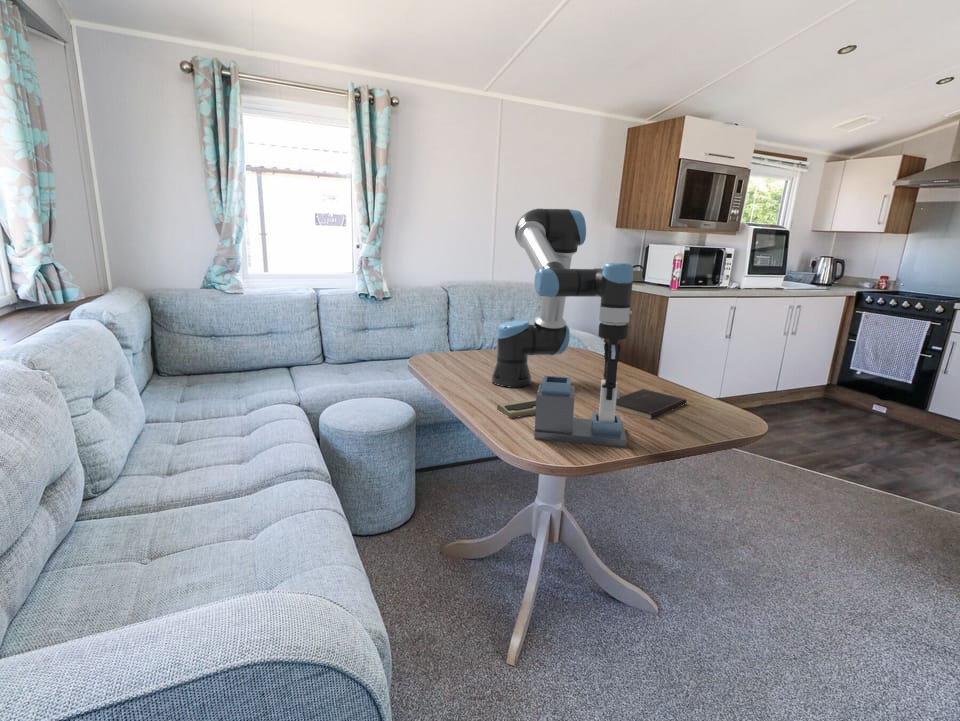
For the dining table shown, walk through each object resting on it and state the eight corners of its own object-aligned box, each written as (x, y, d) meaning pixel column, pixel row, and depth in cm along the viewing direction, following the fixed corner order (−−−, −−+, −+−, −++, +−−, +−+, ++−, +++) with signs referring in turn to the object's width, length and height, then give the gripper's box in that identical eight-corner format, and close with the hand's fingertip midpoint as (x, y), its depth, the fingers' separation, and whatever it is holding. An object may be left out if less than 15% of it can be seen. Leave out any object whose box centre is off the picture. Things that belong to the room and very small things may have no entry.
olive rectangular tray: (510, 420, 146) (510, 409, 146) (496, 412, 153) (496, 402, 153) (552, 412, 154) (552, 402, 153) (537, 405, 161) (538, 396, 160)
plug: (598, 425, 132) (602, 383, 129) (598, 420, 136) (601, 379, 133) (617, 427, 131) (620, 384, 128) (616, 422, 135) (619, 380, 132)
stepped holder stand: (534, 438, 131) (536, 385, 128) (538, 421, 144) (540, 372, 141) (626, 447, 126) (631, 392, 123) (621, 428, 140) (626, 378, 136)
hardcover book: (606, 408, 159) (606, 401, 159) (642, 395, 174) (643, 388, 174) (651, 421, 148) (652, 414, 147) (686, 405, 163) (686, 399, 162)
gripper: (632, 328, 118) (624, 419, 123) (626, 319, 134) (619, 399, 140) (600, 327, 120) (593, 417, 125) (598, 317, 136) (592, 397, 141)
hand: (607, 407), depth 132 cm, fingers closed on plug, 4 cm apart
